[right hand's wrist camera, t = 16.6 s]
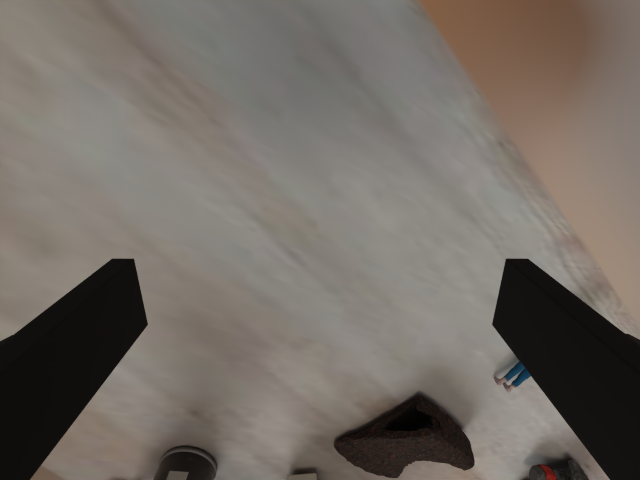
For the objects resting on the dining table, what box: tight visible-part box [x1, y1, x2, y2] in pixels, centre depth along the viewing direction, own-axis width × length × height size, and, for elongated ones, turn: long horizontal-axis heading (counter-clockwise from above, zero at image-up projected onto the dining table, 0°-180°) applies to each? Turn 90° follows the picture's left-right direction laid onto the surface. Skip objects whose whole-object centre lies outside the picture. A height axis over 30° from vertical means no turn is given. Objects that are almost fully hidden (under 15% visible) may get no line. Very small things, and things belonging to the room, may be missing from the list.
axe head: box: [334, 395, 474, 478], centre depth 56 cm, size 18×8×15 cm
